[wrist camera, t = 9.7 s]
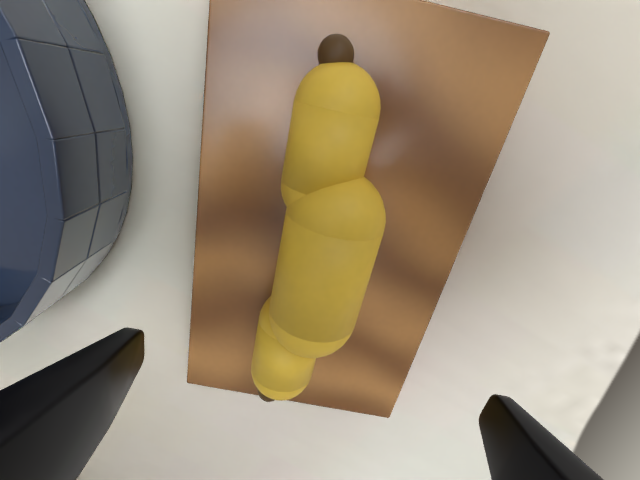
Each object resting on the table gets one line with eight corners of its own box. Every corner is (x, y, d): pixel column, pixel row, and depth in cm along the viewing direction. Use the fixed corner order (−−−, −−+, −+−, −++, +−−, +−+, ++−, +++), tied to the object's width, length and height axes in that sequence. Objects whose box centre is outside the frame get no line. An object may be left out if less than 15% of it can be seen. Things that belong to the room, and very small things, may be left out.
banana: (326, 384, 19) (326, 450, 15) (253, 371, 18) (234, 435, 15) (421, 60, 12) (457, 46, 9) (309, 33, 12) (299, 9, 8)
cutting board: (386, 401, 21) (389, 418, 20) (194, 367, 20) (186, 383, 19) (532, 36, 13) (551, 31, 12) (222, -39, 12) (211, -53, 11)
